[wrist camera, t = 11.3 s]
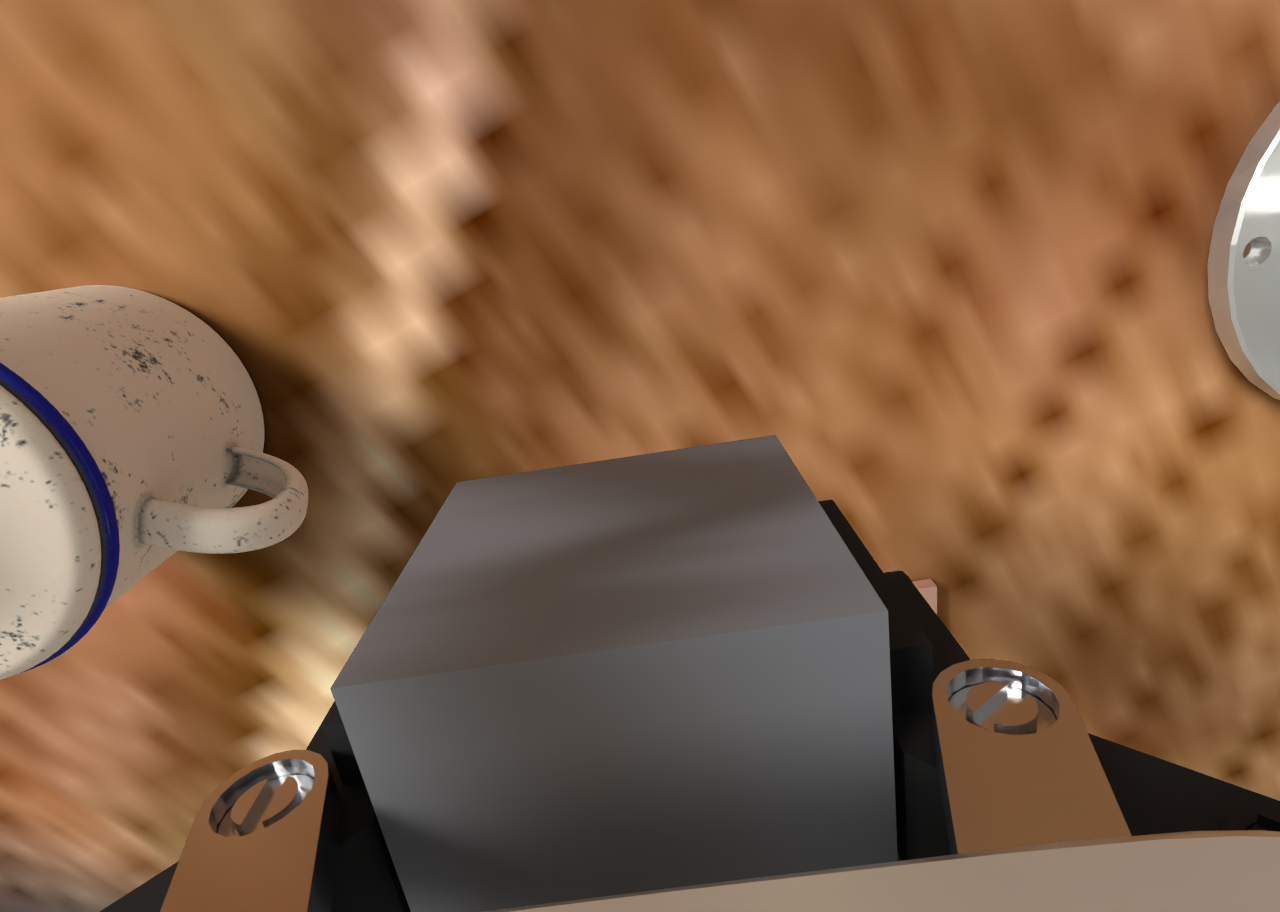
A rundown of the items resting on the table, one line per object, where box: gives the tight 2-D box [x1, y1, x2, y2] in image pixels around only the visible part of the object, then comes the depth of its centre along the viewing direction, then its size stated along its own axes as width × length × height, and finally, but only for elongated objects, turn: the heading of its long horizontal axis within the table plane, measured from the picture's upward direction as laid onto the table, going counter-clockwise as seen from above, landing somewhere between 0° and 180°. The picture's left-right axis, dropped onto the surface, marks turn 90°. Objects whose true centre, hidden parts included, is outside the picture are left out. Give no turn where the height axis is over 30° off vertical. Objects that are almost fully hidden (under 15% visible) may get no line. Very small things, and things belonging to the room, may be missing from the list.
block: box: [331, 435, 898, 912], centre depth 9 cm, size 5×5×5 cm
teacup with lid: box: [0, 285, 308, 680], centre depth 19 cm, size 12×9×12 cm
